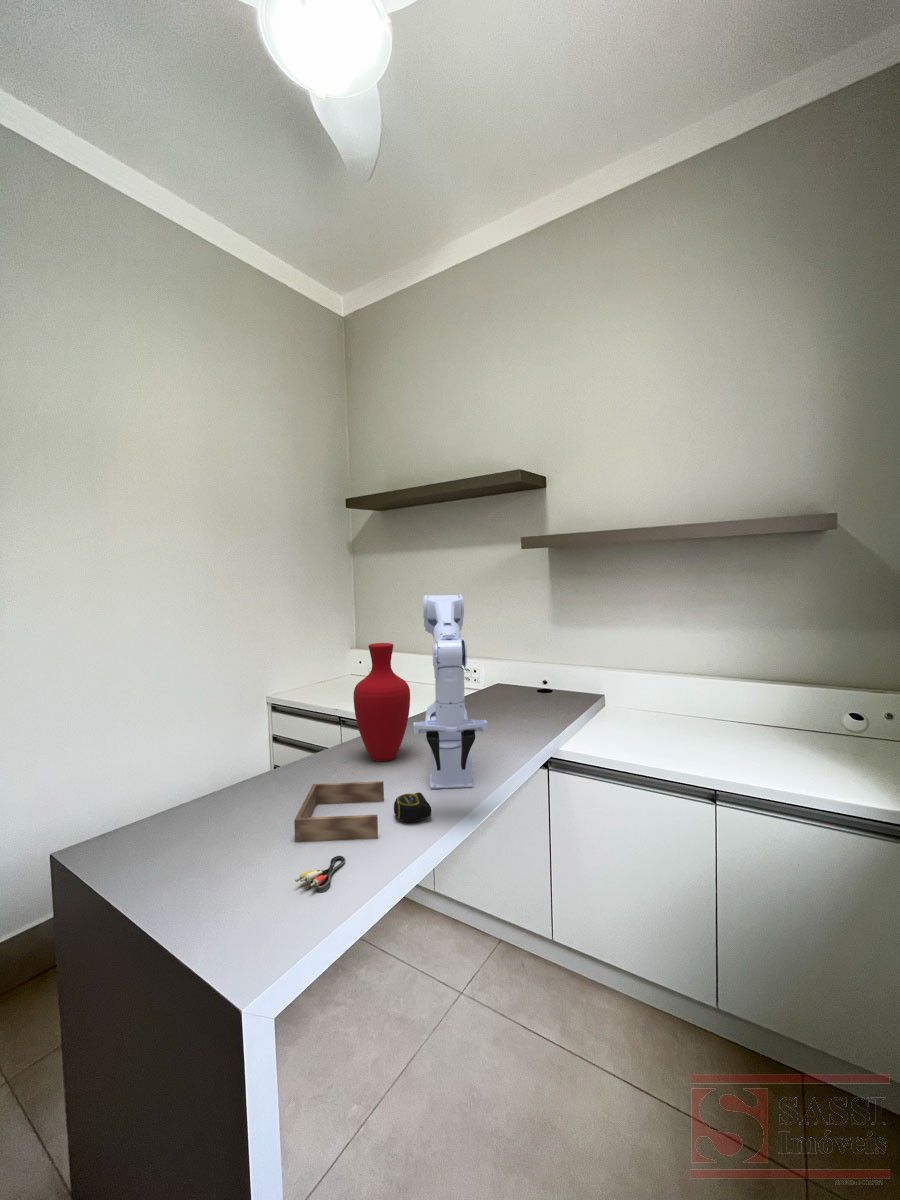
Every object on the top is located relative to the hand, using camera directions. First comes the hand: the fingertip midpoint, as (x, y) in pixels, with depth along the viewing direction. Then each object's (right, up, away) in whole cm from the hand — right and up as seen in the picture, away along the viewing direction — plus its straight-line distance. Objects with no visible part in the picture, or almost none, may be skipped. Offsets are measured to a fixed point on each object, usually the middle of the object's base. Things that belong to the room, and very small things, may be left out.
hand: (450, 768), depth 99 cm
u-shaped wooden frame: (-21, -10, -1) cm, 23 cm away
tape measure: (-7, -10, 0) cm, 12 cm away
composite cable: (-20, -11, -19) cm, 30 cm away
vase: (-18, -8, +32) cm, 38 cm away
